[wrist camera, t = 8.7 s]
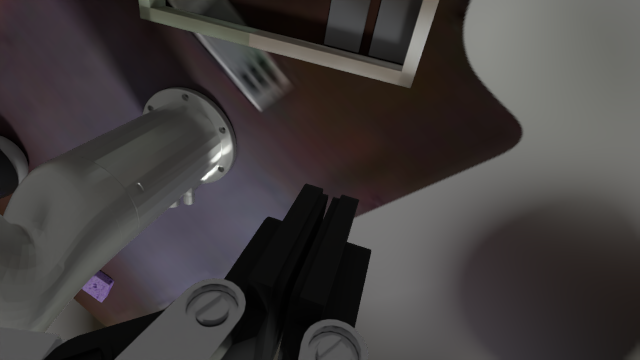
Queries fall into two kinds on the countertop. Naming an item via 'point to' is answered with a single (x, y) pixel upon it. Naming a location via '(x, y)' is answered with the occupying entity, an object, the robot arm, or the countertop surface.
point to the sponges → (99, 286)
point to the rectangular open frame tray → (329, 36)
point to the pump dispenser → (11, 167)
